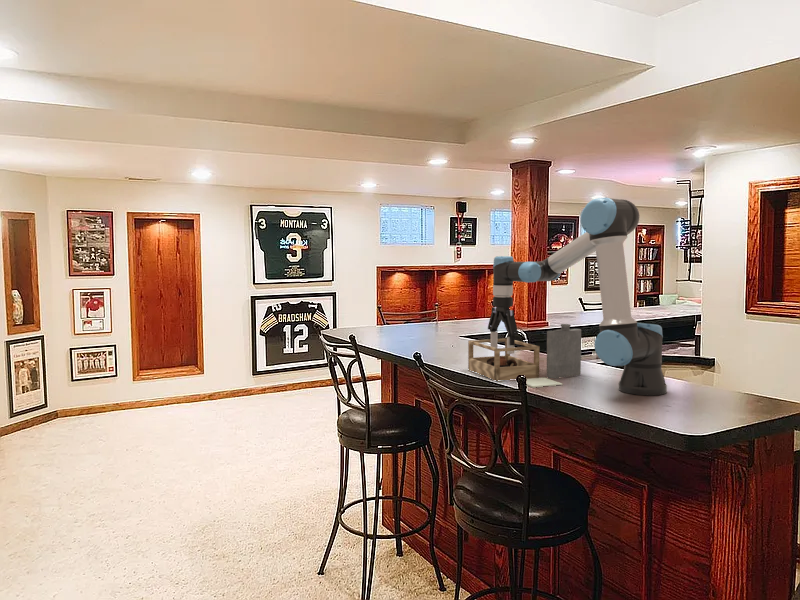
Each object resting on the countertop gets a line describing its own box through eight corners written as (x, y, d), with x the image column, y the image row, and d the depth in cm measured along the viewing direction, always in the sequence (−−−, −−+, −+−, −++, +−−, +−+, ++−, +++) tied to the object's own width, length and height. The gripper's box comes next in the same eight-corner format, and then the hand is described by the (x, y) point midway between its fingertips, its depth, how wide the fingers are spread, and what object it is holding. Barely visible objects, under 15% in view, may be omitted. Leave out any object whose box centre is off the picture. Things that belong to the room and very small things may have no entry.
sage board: (562, 385, 218) (562, 383, 218) (532, 387, 214) (532, 386, 214) (544, 379, 230) (544, 377, 230) (515, 381, 226) (515, 379, 226)
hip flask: (576, 373, 240) (577, 322, 239) (584, 375, 237) (584, 323, 235) (544, 377, 233) (545, 324, 231) (552, 379, 229) (552, 325, 228)
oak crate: (539, 378, 231) (539, 346, 230) (496, 381, 225) (496, 349, 225) (508, 367, 254) (508, 338, 253) (468, 370, 248) (468, 340, 247)
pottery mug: (487, 378, 234) (483, 358, 238) (490, 384, 242) (486, 365, 246) (519, 371, 232) (513, 350, 236) (520, 377, 241) (515, 358, 244)
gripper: (528, 298, 227) (527, 355, 229) (496, 293, 250) (495, 345, 252) (509, 298, 224) (509, 356, 226) (479, 294, 248) (479, 346, 250)
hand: (502, 350), depth 239 cm, fingers open, 13 cm apart
